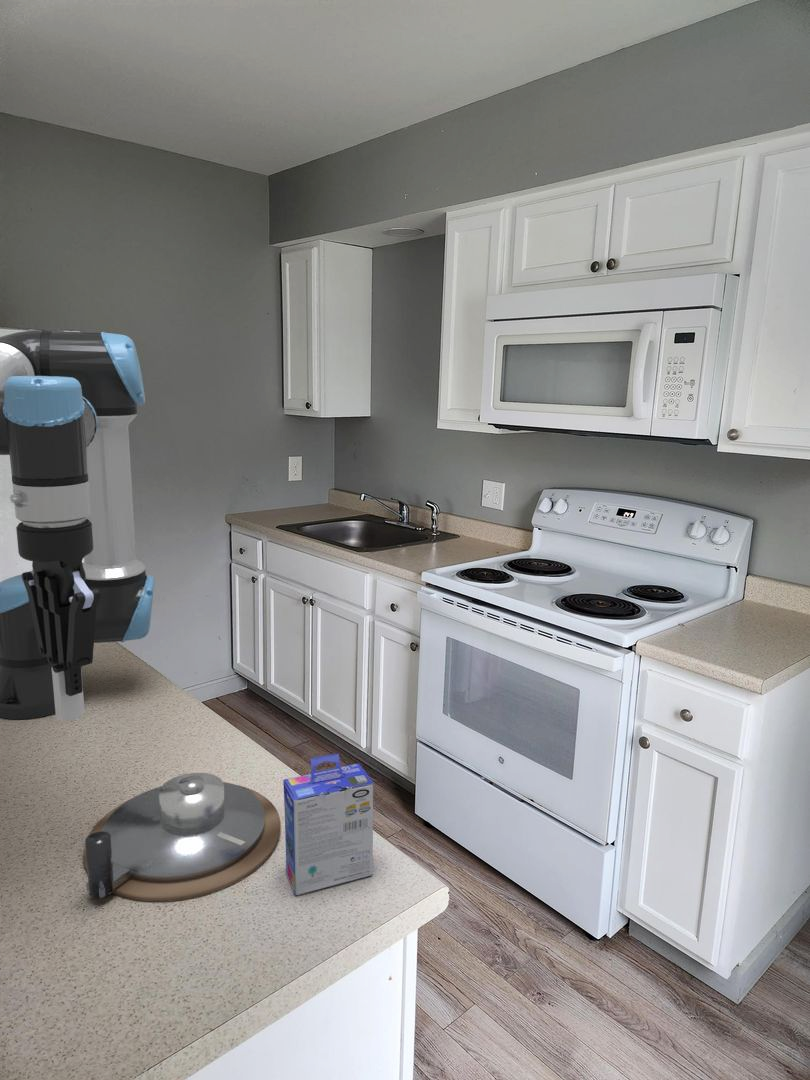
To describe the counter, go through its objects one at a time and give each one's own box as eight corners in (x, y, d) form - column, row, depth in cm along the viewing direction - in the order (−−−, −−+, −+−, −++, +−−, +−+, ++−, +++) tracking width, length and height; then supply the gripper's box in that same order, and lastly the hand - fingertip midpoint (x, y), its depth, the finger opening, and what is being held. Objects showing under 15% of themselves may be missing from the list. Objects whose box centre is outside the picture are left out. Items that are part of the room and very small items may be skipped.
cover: (146, 823, 93) (144, 787, 92) (192, 793, 100) (190, 760, 99) (193, 842, 89) (192, 805, 88) (237, 810, 96) (236, 775, 95)
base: (66, 820, 96) (65, 815, 96) (238, 770, 110) (238, 765, 110) (111, 932, 77) (110, 925, 77) (313, 854, 91) (313, 848, 91)
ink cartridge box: (359, 849, 92) (360, 744, 89) (375, 876, 87) (377, 765, 84) (282, 868, 88) (281, 759, 85) (295, 897, 83) (294, 782, 80)
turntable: (33, 868, 86) (28, 818, 84) (184, 774, 107) (182, 733, 105) (157, 929, 76) (154, 874, 75) (295, 813, 98) (295, 769, 96)
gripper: (-9, 516, 81) (11, 710, 87) (50, 535, 73) (68, 747, 79) (57, 507, 87) (72, 690, 92) (118, 524, 79) (130, 722, 85)
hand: (70, 716), depth 86 cm, fingers closed
